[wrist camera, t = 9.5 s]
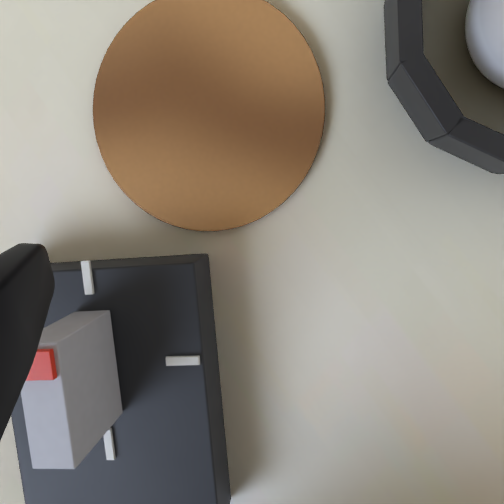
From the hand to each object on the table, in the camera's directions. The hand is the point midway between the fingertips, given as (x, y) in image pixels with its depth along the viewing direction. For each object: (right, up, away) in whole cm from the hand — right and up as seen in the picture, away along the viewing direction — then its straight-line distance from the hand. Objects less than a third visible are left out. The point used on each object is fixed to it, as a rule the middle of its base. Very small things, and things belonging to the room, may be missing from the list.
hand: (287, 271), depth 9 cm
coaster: (-3, +6, +11) cm, 13 cm away
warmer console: (-7, -6, +13) cm, 16 cm away
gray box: (-7, -4, +11) cm, 13 cm away
